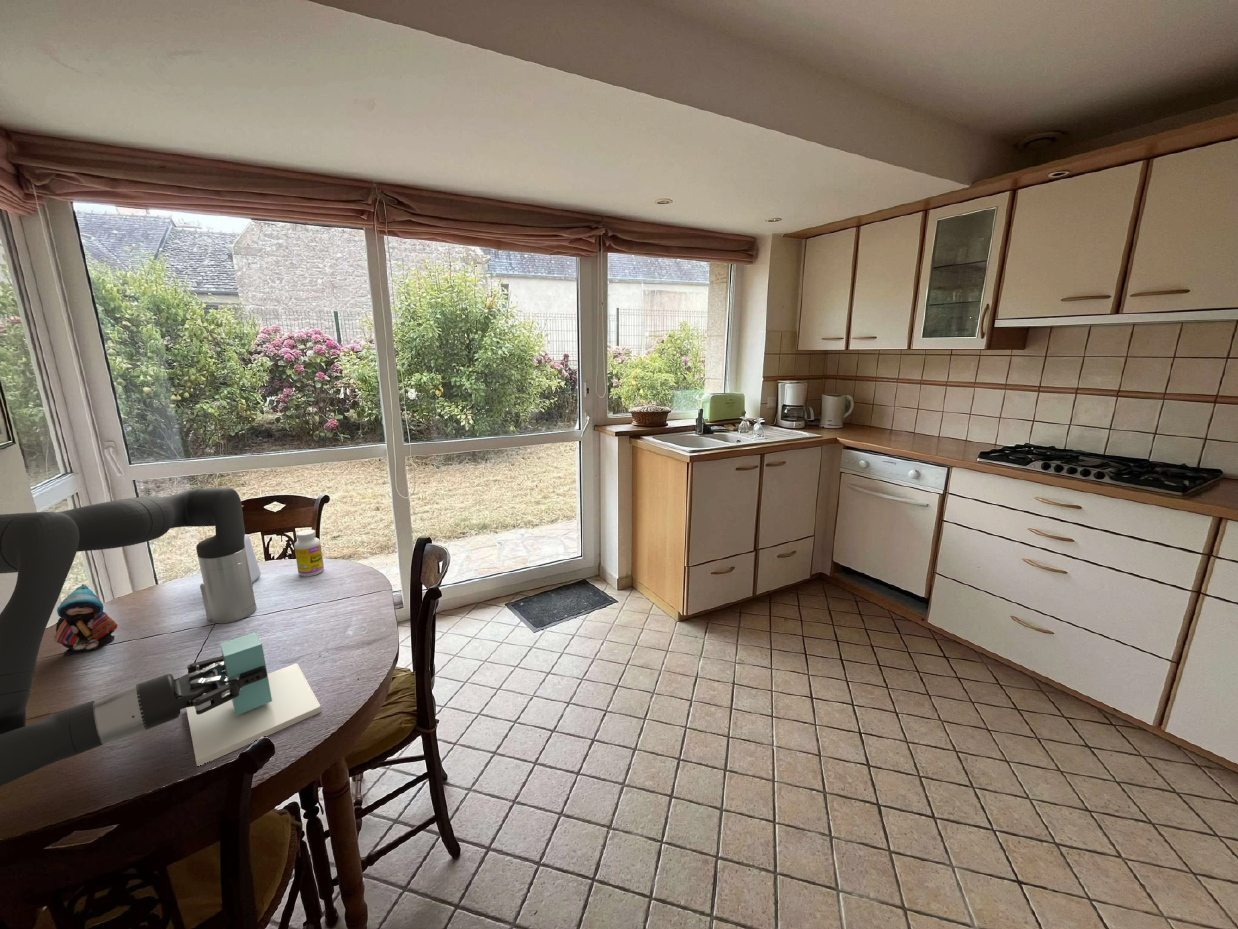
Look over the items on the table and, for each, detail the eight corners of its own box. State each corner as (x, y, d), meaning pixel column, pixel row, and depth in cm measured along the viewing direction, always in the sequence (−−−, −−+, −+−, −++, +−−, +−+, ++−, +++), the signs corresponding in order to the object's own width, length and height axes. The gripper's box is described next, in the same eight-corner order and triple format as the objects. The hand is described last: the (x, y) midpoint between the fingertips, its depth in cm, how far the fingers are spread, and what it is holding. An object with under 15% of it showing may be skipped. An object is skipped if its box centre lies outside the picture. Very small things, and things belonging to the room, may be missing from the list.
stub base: (197, 767, 81) (189, 734, 79) (187, 710, 93) (180, 680, 92) (321, 711, 93) (316, 682, 91) (297, 668, 105) (293, 641, 104)
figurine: (55, 665, 106) (36, 601, 103) (62, 649, 112) (44, 588, 108) (120, 647, 112) (104, 587, 109) (124, 633, 118) (108, 575, 114)
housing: (236, 715, 89) (224, 656, 86) (231, 700, 92) (220, 643, 90) (272, 701, 92) (261, 644, 90) (266, 687, 96) (256, 631, 93)
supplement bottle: (312, 578, 146) (306, 537, 143) (293, 576, 147) (286, 535, 144) (329, 568, 152) (323, 529, 149) (311, 566, 153) (305, 527, 150)
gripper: (134, 711, 75) (267, 663, 87) (132, 668, 85) (252, 630, 97) (145, 752, 77) (274, 700, 89) (142, 705, 87) (259, 663, 99)
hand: (262, 663), depth 93 cm, fingers closed on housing, 5 cm apart
